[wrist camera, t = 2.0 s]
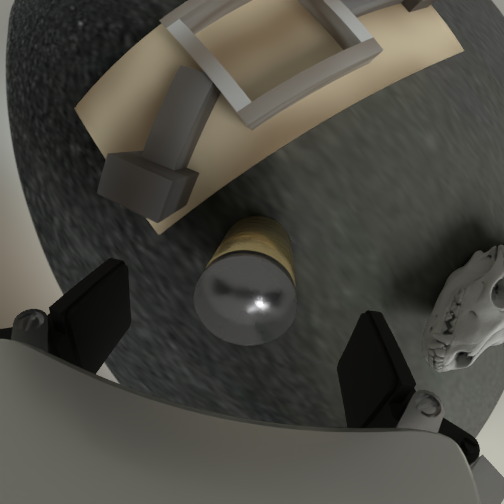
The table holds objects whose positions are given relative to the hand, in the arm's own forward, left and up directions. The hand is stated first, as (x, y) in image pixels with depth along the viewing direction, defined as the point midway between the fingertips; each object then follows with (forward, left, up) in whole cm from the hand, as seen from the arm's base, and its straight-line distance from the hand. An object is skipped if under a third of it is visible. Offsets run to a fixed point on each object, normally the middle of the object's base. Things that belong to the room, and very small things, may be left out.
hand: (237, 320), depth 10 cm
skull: (-12, -13, -9) cm, 20 cm away
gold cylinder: (0, 0, -8) cm, 8 cm away
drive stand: (+10, -8, -8) cm, 15 cm away
